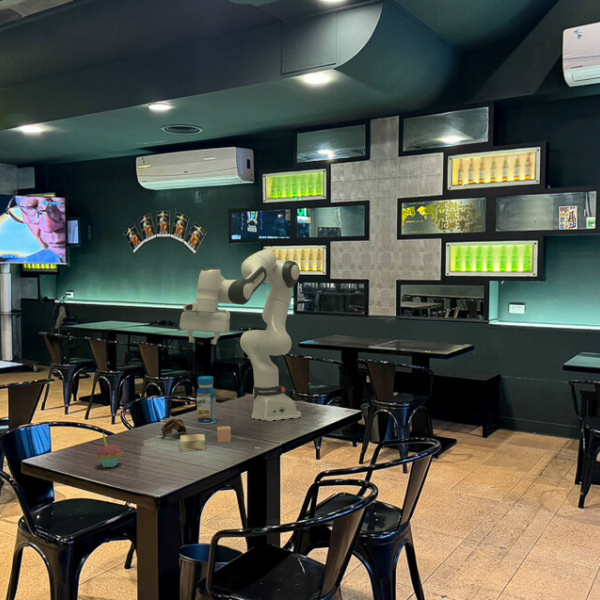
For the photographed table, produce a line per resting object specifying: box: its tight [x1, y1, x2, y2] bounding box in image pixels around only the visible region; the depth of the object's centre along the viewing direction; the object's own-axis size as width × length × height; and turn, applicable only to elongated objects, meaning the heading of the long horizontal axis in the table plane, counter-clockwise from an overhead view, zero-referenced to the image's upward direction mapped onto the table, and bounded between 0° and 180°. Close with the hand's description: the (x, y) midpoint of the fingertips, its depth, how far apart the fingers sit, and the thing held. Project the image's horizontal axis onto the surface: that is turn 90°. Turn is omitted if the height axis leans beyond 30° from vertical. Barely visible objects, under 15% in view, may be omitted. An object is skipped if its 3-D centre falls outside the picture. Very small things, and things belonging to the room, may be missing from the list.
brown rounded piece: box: [160, 418, 189, 438], centre depth 253 cm, size 12×10×8 cm
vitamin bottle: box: [196, 375, 217, 425], centre depth 274 cm, size 8×8×20 cm
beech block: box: [179, 433, 206, 452], centre depth 236 cm, size 9×9×4 cm
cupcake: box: [96, 432, 124, 468], centre depth 215 cm, size 9×8×12 cm
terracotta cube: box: [216, 425, 232, 443], centre depth 245 cm, size 5×5×5 cm
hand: (202, 343), depth 245 cm, fingers open, 8 cm apart
